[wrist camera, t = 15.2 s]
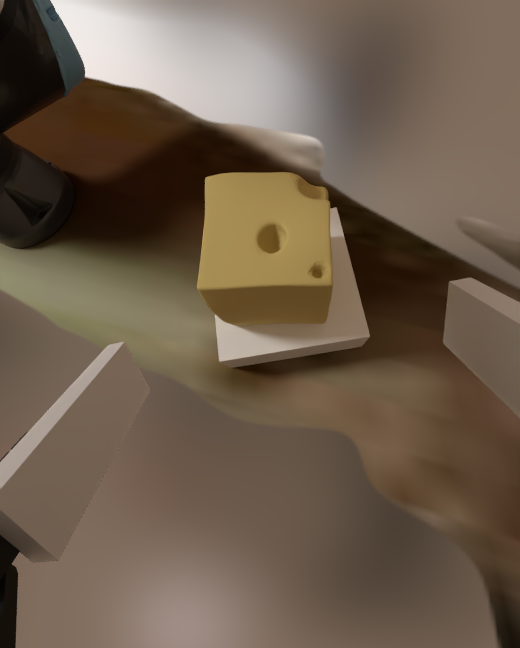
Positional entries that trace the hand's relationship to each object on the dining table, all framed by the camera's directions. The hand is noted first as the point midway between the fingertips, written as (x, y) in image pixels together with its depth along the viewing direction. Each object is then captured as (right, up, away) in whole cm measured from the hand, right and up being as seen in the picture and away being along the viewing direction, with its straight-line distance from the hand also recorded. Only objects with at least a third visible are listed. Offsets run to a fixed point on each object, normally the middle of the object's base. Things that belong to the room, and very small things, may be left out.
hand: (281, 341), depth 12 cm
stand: (+2, +4, +23) cm, 23 cm away
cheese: (+1, +5, +18) cm, 19 cm away
